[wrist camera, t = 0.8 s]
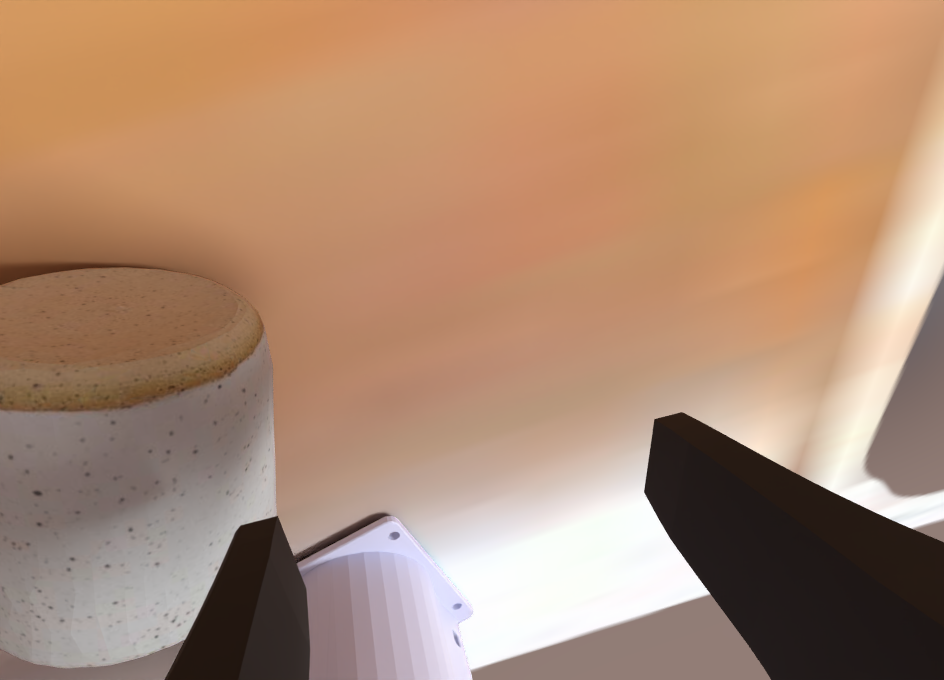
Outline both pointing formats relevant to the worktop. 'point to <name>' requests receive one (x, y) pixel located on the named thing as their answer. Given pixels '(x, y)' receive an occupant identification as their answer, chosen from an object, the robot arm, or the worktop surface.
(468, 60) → the worktop surface
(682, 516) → the robot arm
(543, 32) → the worktop surface
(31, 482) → the ceramic mug
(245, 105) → the worktop surface
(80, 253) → the worktop surface
